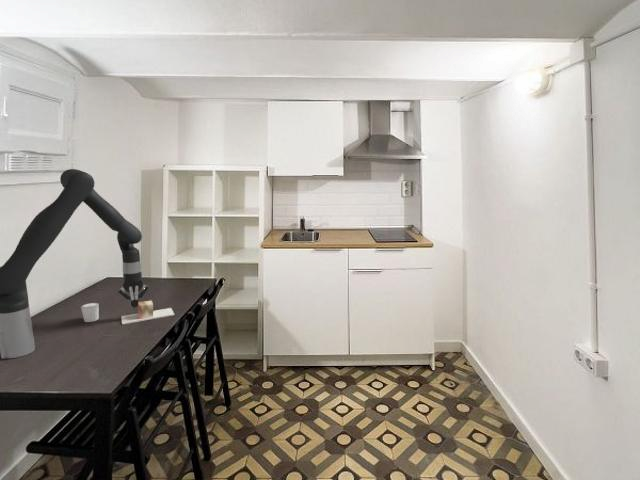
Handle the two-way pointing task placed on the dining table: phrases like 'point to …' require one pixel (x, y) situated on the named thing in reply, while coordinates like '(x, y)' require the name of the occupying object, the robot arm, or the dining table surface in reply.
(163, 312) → the mat
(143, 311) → the maple cube
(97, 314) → the white cup
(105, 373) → the dining table surface
